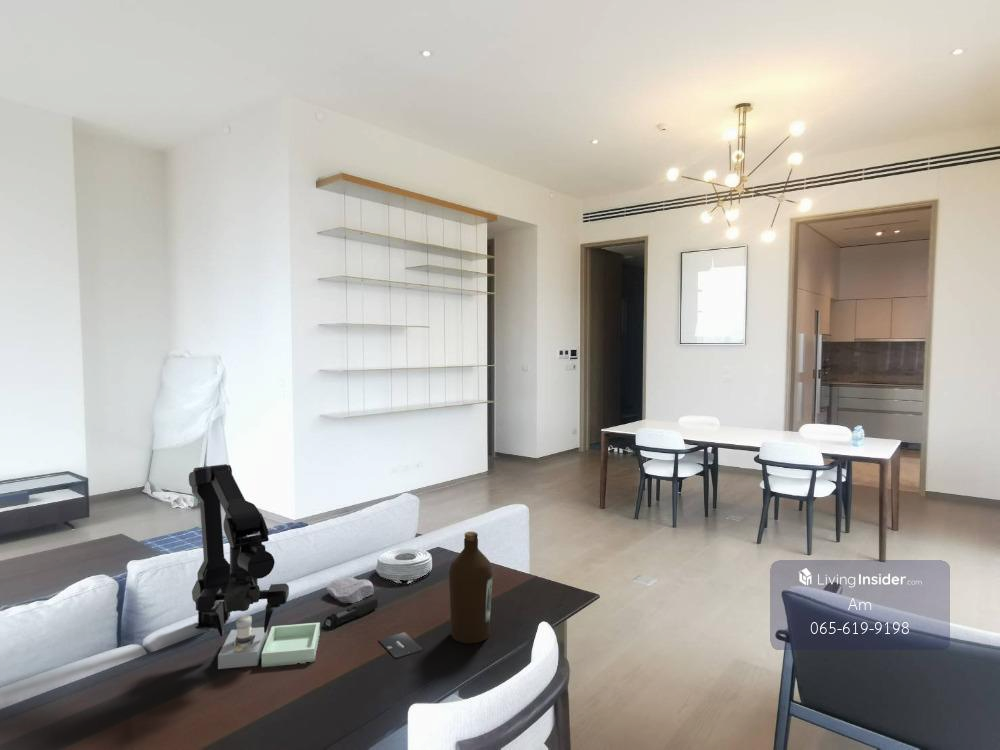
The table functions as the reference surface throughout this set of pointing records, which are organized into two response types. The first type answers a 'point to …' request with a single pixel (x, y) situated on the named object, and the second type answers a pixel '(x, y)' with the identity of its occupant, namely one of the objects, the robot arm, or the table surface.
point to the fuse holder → (242, 650)
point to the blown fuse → (244, 630)
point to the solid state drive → (400, 645)
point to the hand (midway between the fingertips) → (244, 633)
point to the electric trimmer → (350, 614)
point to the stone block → (350, 589)
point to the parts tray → (291, 644)
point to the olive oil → (470, 593)
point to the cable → (404, 564)
